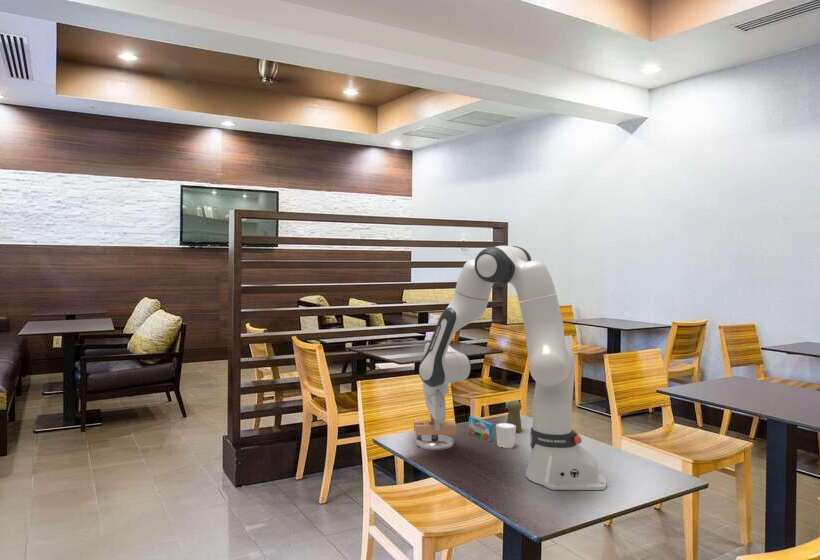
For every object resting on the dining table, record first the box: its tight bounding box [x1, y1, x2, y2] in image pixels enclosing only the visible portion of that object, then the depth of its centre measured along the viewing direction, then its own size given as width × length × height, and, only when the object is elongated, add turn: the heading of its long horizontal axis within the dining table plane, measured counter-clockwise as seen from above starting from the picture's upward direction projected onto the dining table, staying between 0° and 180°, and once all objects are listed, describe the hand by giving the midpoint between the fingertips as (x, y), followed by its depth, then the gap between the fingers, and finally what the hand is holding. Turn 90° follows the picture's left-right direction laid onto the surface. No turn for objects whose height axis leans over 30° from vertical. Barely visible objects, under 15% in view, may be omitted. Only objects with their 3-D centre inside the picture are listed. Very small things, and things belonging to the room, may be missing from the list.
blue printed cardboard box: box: [467, 415, 494, 442], centre depth 201 cm, size 12×2×6 cm, turn 31°
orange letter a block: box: [413, 420, 458, 436], centre depth 192 cm, size 14×6×3 cm, turn 97°
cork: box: [506, 400, 523, 434], centre depth 209 cm, size 6×6×11 cm
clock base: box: [415, 435, 455, 451], centre depth 192 cm, size 13×13×6 cm
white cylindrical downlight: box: [495, 422, 516, 449], centre depth 192 cm, size 7×7×7 cm
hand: (435, 427), depth 192 cm, fingers closed on orange letter a block, 6 cm apart
